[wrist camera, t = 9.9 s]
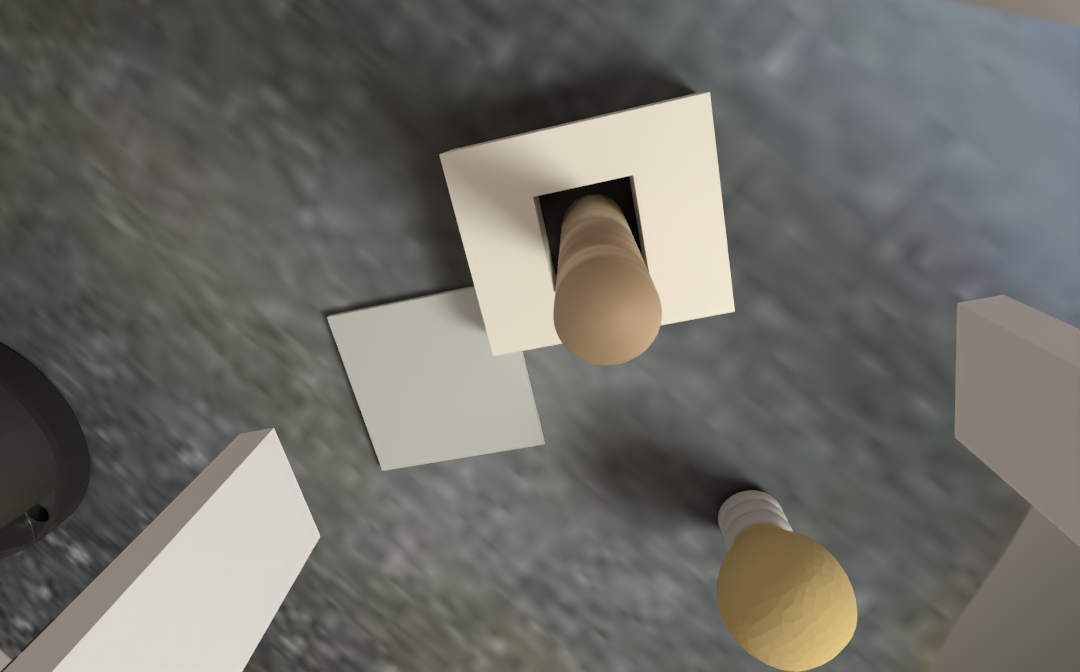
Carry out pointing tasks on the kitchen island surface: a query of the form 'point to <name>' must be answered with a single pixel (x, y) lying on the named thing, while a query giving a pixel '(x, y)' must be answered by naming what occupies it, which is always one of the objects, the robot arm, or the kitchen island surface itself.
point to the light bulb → (781, 587)
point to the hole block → (578, 160)
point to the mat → (434, 380)
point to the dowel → (603, 285)
